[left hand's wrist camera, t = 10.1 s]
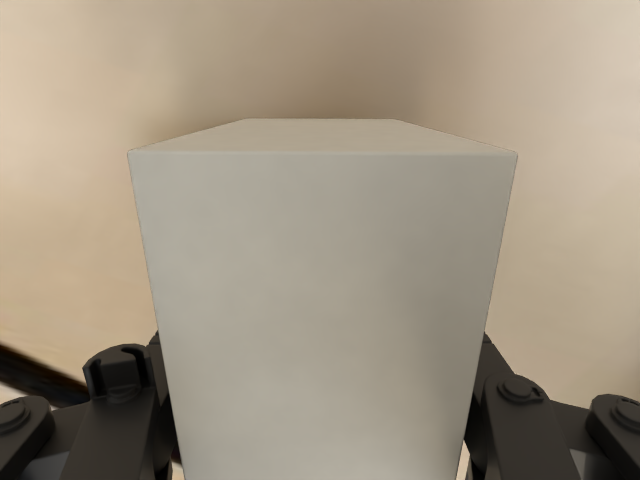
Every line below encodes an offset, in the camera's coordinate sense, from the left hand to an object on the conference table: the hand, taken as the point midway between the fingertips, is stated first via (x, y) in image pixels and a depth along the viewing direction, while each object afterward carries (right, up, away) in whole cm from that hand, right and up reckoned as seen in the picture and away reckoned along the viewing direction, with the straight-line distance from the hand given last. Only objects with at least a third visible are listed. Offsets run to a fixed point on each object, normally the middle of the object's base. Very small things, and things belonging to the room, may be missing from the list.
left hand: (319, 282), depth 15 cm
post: (0, -22, +9) cm, 23 cm away
